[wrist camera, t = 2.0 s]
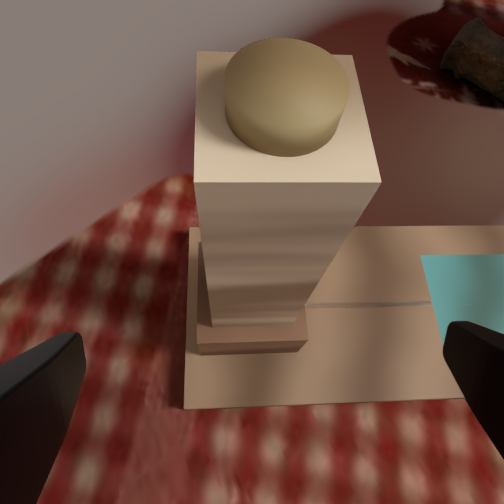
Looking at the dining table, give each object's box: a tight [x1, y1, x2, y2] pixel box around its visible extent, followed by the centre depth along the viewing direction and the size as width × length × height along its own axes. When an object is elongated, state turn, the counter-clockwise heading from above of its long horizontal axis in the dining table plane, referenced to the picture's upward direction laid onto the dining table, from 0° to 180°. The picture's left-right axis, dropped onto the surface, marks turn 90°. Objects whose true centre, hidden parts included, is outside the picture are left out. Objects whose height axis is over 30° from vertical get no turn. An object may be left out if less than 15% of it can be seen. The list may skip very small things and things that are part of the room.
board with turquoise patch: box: [184, 226, 504, 410], centre depth 22 cm, size 20×10×1 cm, turn 92°
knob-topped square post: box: [194, 38, 381, 356], centre depth 14 cm, size 5×5×15 cm
